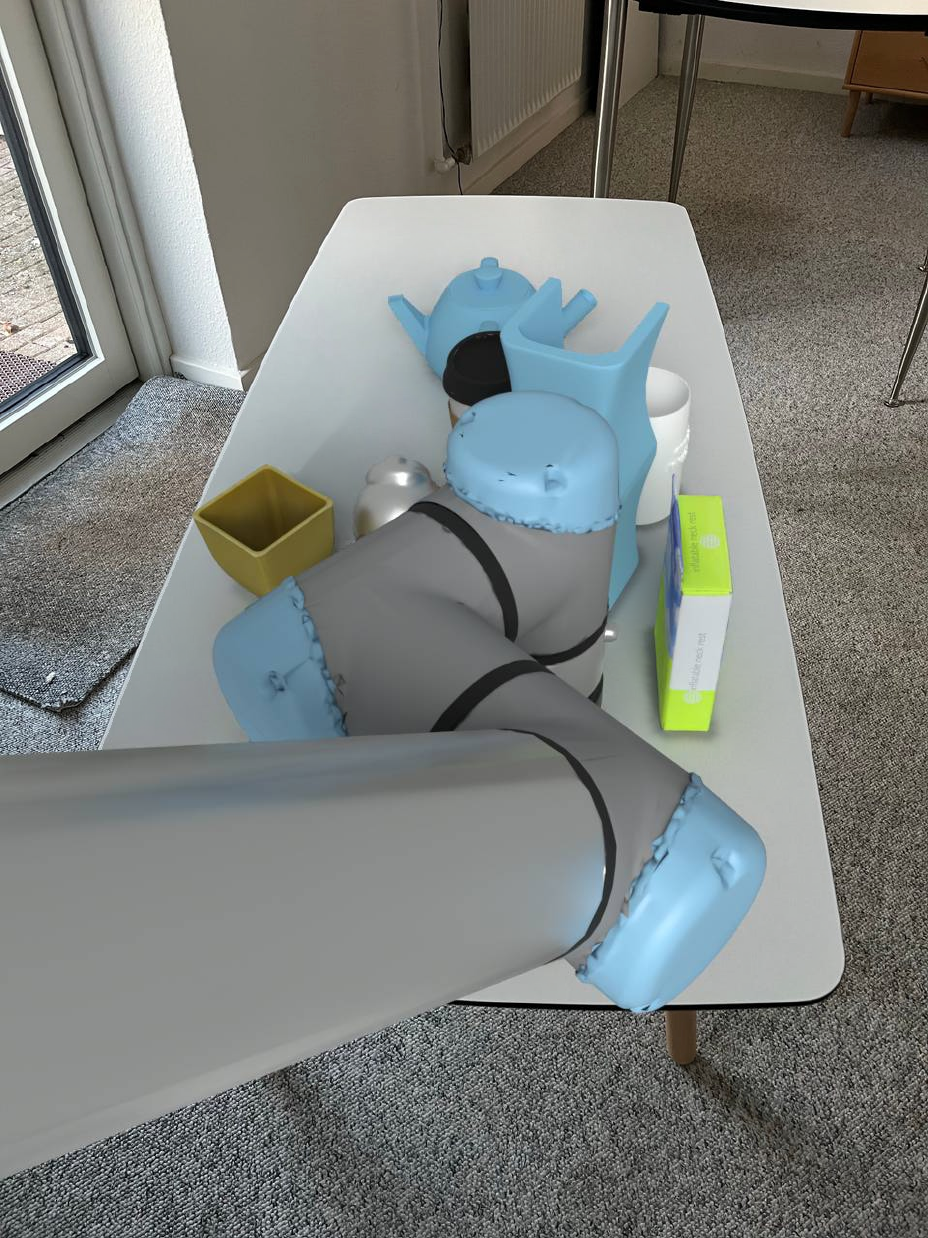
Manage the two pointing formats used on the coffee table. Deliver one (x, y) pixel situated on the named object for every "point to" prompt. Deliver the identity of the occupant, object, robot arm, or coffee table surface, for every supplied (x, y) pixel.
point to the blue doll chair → (593, 397)
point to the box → (692, 611)
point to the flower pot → (267, 529)
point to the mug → (664, 442)
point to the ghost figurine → (390, 492)
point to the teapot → (475, 310)
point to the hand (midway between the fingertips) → (529, 893)
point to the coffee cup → (475, 372)
